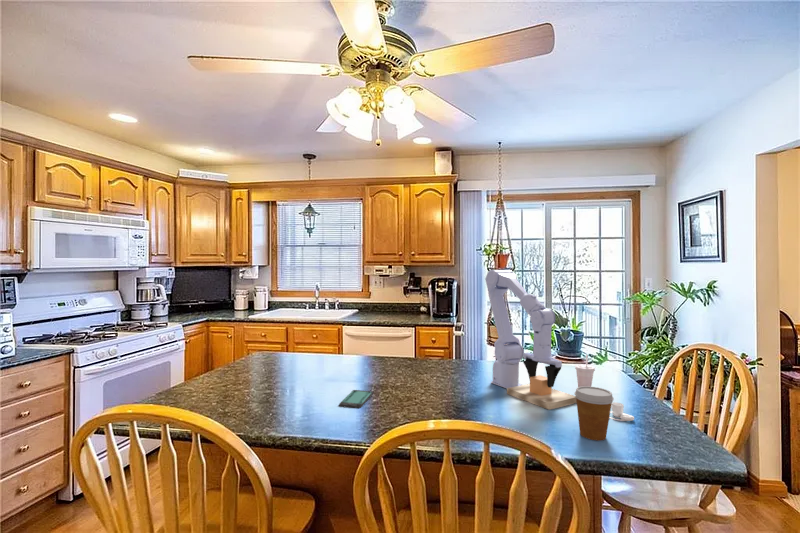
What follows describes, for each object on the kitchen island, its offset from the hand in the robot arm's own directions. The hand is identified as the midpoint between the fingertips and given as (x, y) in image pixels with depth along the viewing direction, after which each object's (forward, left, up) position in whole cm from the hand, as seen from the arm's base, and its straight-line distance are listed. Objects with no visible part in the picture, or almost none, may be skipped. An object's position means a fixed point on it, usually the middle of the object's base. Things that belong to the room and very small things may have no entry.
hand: (541, 383), depth 141 cm
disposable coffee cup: (+28, -13, -5) cm, 31 cm away
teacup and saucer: (+24, +4, -6) cm, 25 cm away
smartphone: (-28, -56, -6) cm, 63 cm away
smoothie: (+4, +18, -5) cm, 19 cm away
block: (0, 0, -3) cm, 3 cm away
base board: (0, 0, -5) cm, 5 cm away
